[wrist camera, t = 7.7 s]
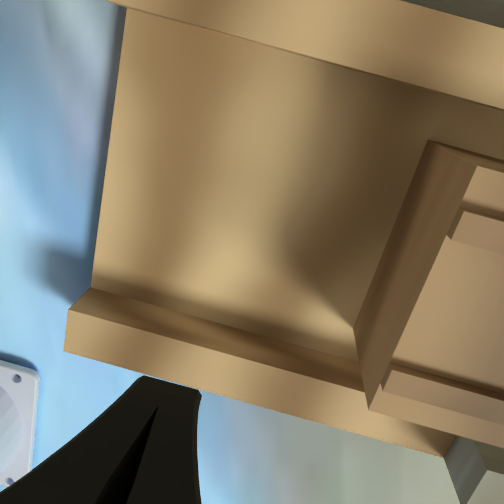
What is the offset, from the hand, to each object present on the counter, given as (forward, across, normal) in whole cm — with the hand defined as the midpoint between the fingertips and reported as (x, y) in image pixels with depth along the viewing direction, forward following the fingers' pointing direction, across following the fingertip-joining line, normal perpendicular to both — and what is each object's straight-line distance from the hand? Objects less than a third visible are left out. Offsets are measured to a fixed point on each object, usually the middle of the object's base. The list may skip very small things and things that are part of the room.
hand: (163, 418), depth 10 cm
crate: (+9, -9, -2) cm, 13 cm away
